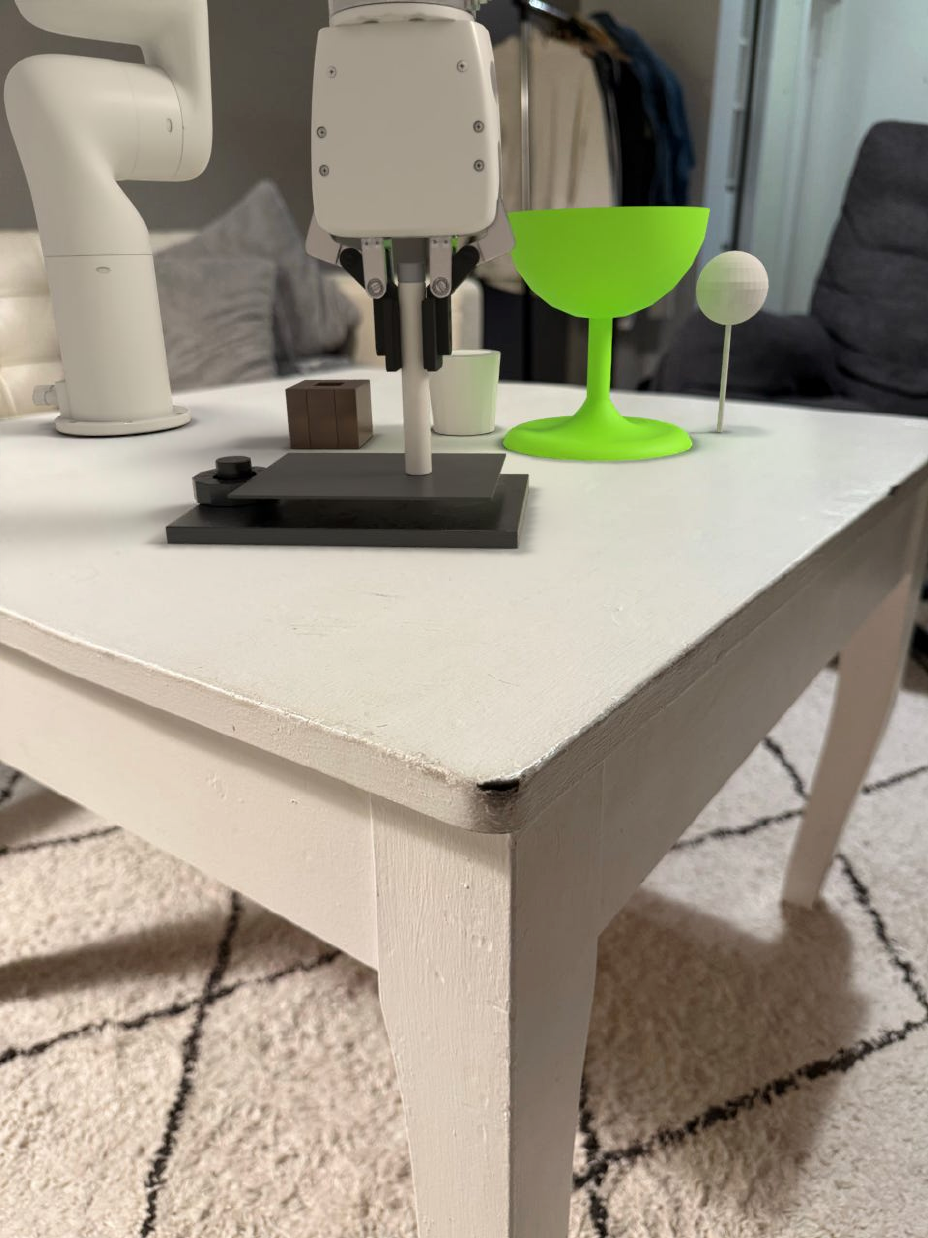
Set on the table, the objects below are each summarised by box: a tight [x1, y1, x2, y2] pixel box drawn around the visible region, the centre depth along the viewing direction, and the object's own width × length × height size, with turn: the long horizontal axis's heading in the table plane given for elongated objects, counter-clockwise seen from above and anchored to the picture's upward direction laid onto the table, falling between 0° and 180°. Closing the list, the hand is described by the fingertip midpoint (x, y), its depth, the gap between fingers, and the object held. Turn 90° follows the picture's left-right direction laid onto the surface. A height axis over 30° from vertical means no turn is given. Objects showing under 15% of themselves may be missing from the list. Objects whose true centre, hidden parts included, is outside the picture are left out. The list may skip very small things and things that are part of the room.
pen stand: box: [284, 379, 374, 450], centre depth 80 cm, size 6×6×5 cm
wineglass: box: [502, 205, 711, 462], centre depth 75 cm, size 16×16×18 cm
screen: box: [227, 452, 507, 501], centre depth 56 cm, size 15×12×1 cm
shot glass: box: [429, 348, 501, 436], centre depth 84 cm, size 7×7×7 cm
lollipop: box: [695, 250, 769, 433], centre depth 79 cm, size 6×6×15 cm
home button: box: [214, 455, 253, 480], centre depth 57 cm, size 2×2×1 cm
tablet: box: [165, 465, 530, 550], centre depth 57 cm, size 21×14×2 cm
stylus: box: [396, 262, 432, 475], centre depth 54 cm, size 2×2×12 cm
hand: (415, 366), depth 54 cm, fingers closed on stylus, 1 cm apart
